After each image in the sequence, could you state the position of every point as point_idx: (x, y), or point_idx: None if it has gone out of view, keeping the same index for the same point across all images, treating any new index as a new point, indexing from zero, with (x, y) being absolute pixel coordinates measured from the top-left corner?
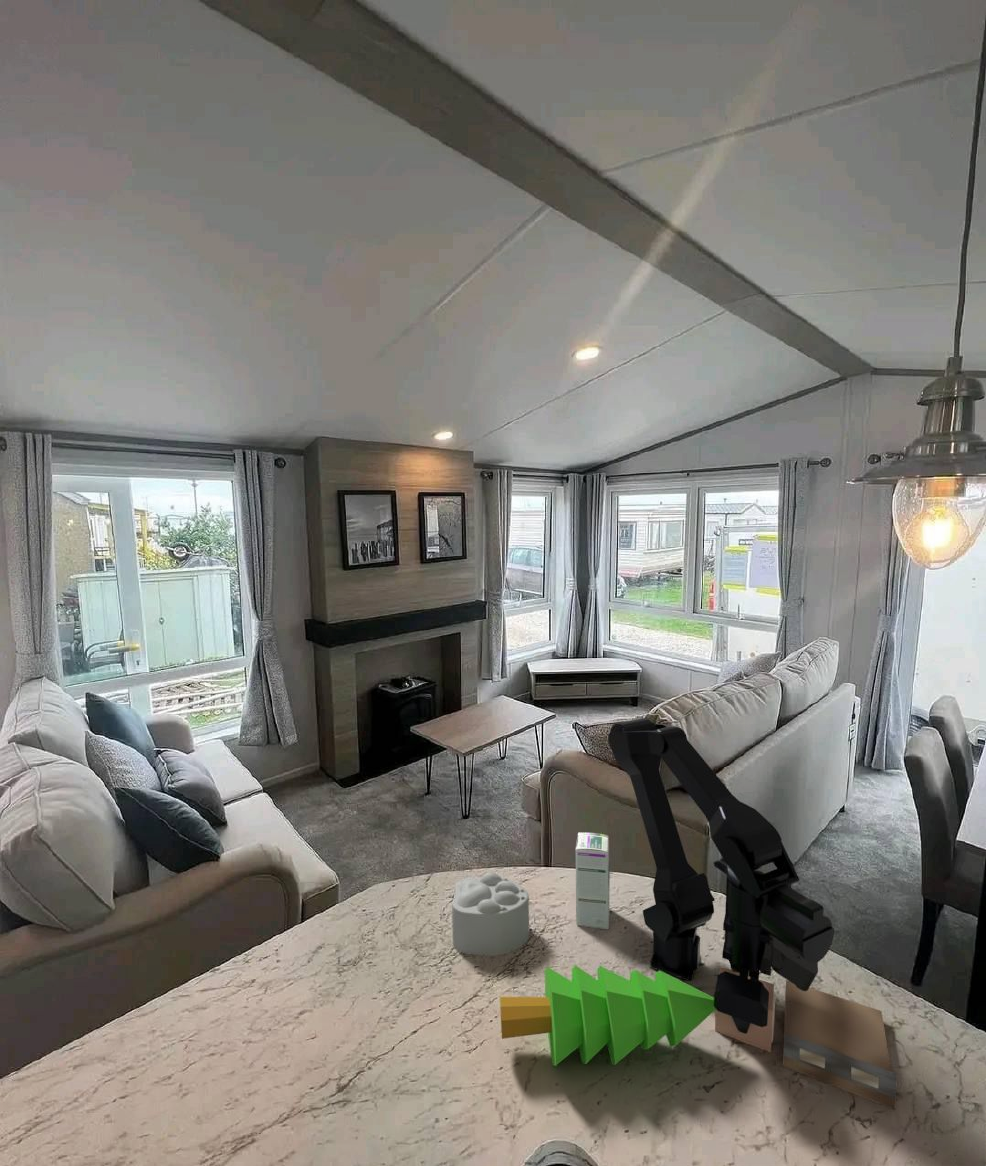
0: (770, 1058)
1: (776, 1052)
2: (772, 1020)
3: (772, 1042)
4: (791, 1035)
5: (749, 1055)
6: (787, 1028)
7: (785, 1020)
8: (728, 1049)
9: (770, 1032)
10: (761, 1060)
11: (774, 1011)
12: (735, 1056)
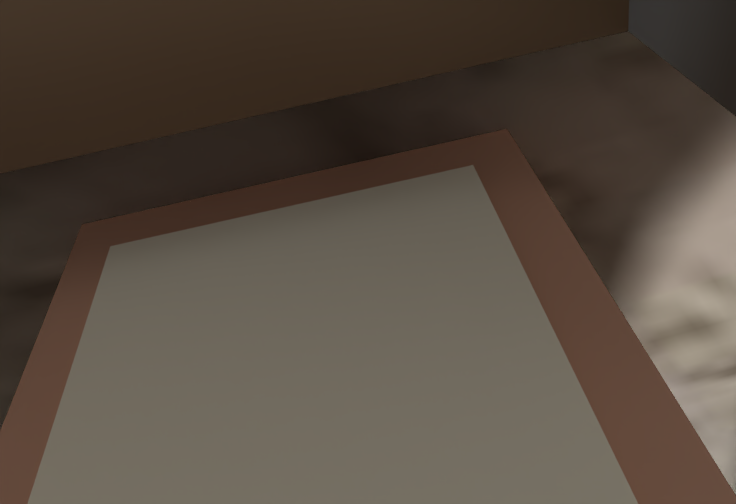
0: (595, 108)
1: (475, 79)
2: (595, 416)
3: (474, 169)
4: (246, 7)
5: (654, 262)
6: (157, 95)
7: (16, 158)
8: (667, 385)
9: (604, 291)
10: (664, 169)
11: (85, 346)
12: (716, 333)
